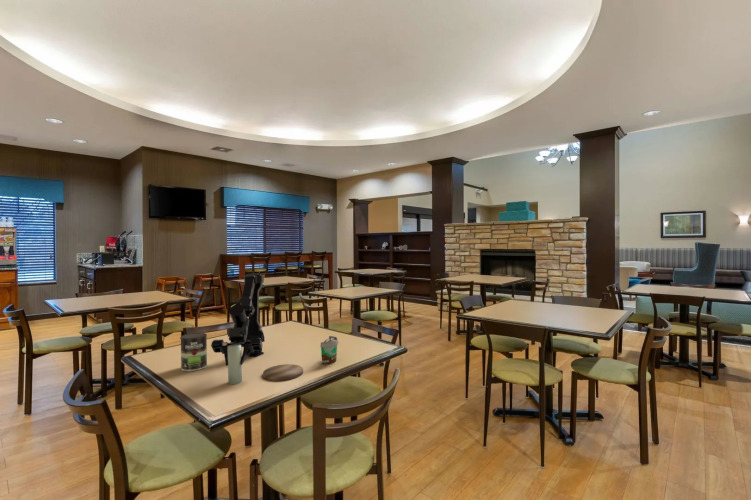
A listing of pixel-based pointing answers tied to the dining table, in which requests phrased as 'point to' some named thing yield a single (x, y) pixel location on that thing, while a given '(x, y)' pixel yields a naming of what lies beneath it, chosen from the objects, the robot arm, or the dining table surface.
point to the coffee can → (193, 351)
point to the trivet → (283, 372)
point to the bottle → (234, 364)
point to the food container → (329, 350)
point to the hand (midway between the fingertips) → (233, 364)
